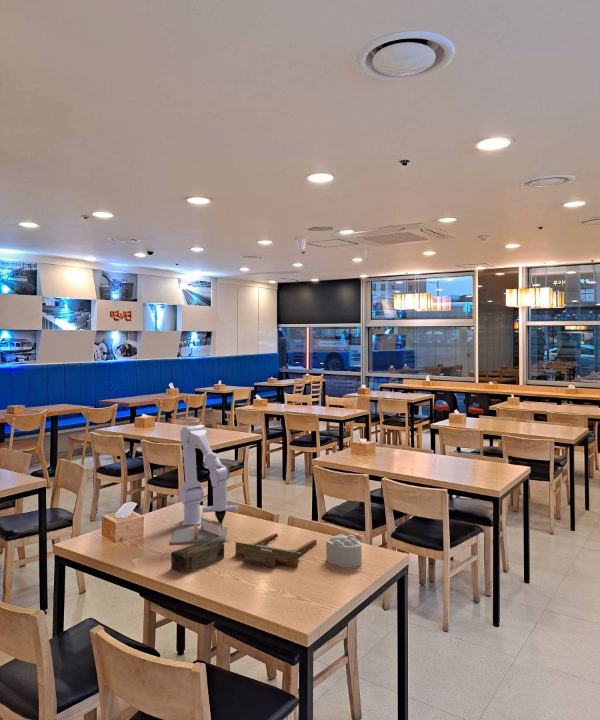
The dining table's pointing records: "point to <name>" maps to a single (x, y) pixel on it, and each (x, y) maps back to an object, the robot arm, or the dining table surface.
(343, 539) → the lumpy-topped squat cylinder
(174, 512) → the dining table surface
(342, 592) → the dining table surface
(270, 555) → the miniature gate
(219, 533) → the gate
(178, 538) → the grey plate with bar
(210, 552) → the dark olive rectangular block
